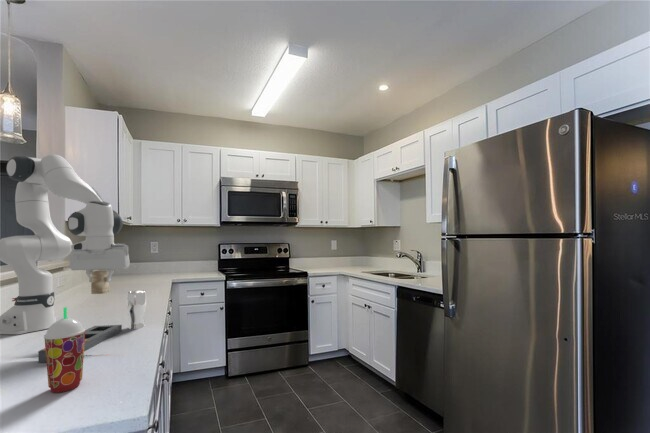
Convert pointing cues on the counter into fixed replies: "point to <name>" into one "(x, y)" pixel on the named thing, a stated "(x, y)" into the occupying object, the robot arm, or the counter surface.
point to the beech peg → (99, 282)
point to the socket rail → (91, 338)
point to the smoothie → (64, 354)
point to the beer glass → (136, 308)
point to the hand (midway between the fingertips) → (100, 281)
